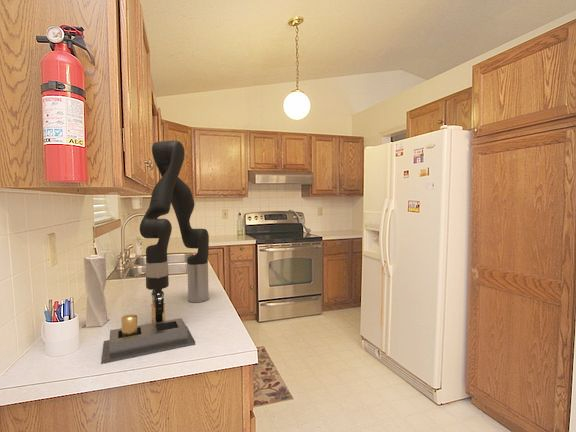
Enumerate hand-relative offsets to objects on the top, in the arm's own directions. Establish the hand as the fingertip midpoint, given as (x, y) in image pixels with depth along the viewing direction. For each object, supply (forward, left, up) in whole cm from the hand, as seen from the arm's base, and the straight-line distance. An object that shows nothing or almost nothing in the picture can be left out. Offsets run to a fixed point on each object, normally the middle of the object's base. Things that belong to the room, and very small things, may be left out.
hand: (158, 321), depth 115 cm
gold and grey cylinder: (0, 0, -3) cm, 3 cm away
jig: (+12, -4, -3) cm, 13 cm away
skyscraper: (-16, -20, -3) cm, 26 cm away
